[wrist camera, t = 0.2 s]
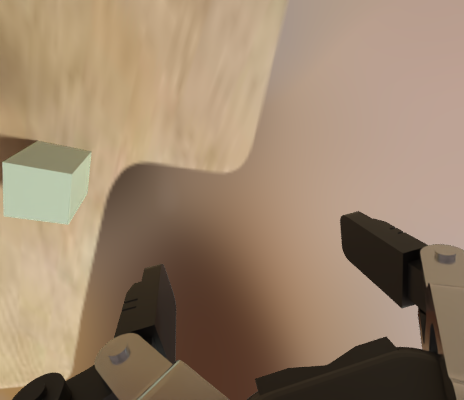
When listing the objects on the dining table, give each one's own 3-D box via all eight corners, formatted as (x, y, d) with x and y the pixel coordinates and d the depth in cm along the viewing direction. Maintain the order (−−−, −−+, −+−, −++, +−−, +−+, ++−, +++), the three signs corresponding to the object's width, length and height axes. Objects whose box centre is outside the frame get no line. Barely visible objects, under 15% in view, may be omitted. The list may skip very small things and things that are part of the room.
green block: (37, 140, 28) (2, 161, 22) (91, 151, 30) (71, 174, 24) (37, 185, 30) (3, 216, 24) (87, 193, 32) (68, 224, 26)
